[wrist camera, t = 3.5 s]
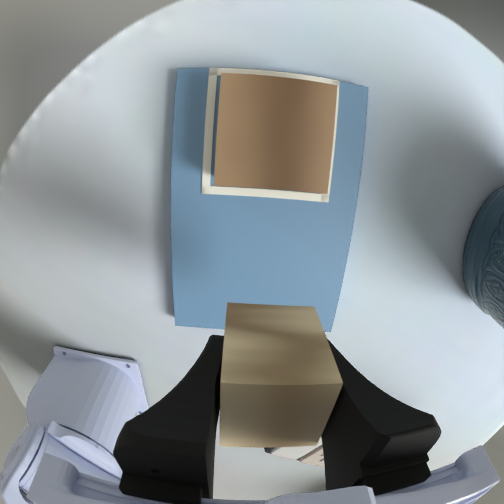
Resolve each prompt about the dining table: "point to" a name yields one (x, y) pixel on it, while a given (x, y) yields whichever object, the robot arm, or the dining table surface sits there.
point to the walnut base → (274, 133)
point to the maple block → (275, 377)
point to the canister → (487, 258)
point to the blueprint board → (257, 214)
